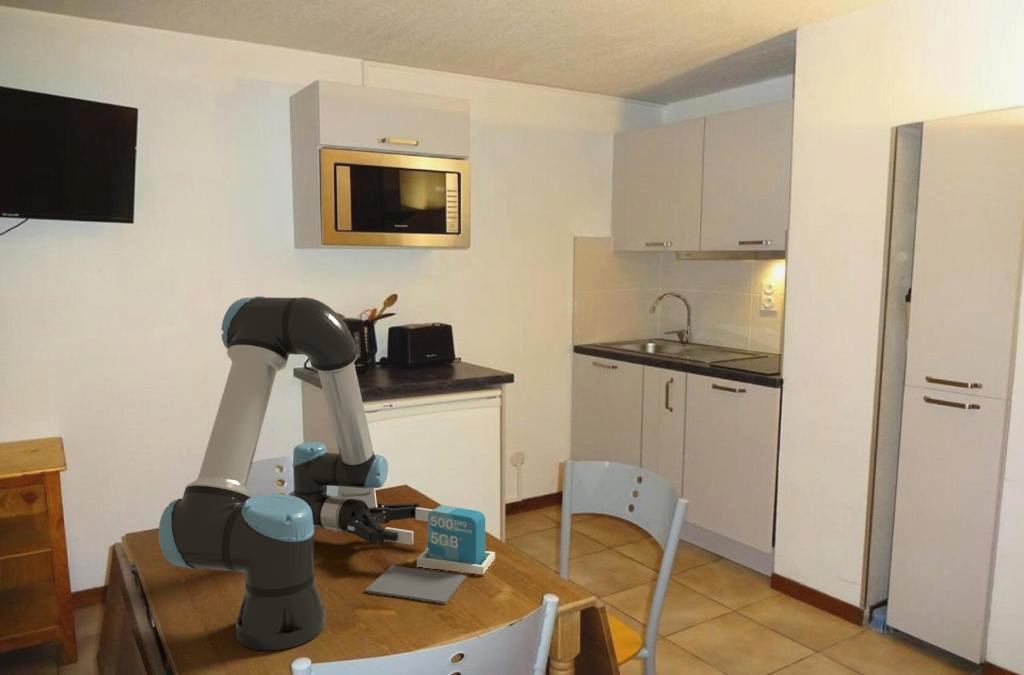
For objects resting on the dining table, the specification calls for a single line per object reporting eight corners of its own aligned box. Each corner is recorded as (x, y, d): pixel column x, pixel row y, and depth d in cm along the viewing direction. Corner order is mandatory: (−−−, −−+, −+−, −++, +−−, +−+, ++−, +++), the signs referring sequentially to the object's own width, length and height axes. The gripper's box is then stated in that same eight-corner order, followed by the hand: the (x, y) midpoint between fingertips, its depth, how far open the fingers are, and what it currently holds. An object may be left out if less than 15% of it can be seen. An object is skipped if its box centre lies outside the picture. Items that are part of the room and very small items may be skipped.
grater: (335, 525, 177) (333, 447, 175) (336, 511, 187) (335, 436, 185) (377, 522, 179) (376, 445, 177) (377, 508, 189) (376, 435, 187)
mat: (445, 604, 136) (445, 601, 136) (365, 592, 141) (365, 589, 141) (466, 578, 147) (466, 575, 147) (391, 568, 152) (391, 565, 152)
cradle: (483, 576, 148) (483, 567, 148) (416, 567, 153) (416, 558, 152) (495, 560, 156) (495, 552, 156) (431, 552, 160) (431, 544, 160)
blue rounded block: (427, 563, 155) (427, 509, 154) (438, 555, 159) (437, 503, 158) (475, 573, 150) (475, 518, 149) (485, 565, 154) (485, 511, 153)
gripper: (374, 513, 176) (452, 524, 169) (313, 550, 153) (399, 565, 146) (374, 483, 175) (452, 493, 168) (312, 516, 152) (399, 530, 145)
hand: (427, 527), depth 157 cm, fingers open, 13 cm apart
